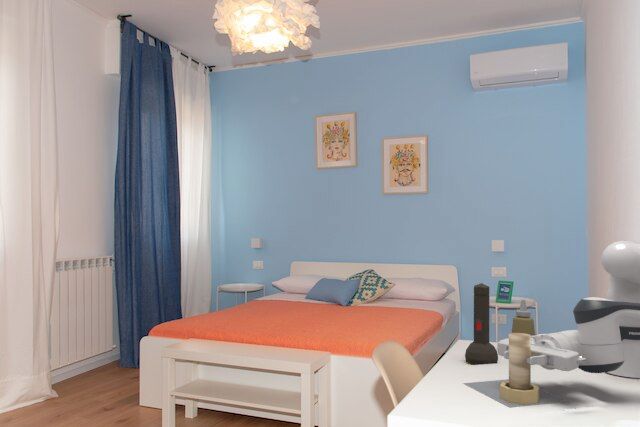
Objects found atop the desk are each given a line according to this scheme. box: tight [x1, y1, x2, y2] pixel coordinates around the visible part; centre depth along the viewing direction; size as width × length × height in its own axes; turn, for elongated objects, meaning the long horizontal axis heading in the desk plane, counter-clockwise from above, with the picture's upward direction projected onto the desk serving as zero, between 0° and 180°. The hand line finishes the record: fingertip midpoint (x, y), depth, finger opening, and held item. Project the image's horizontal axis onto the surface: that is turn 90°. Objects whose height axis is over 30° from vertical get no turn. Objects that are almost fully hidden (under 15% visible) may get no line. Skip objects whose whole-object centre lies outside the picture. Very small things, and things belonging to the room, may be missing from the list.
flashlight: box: [464, 282, 499, 366], centre depth 172 cm, size 10×25×10 cm
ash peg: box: [508, 332, 532, 390], centre depth 133 cm, size 5×5×14 cm
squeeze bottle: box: [511, 299, 536, 334], centre depth 184 cm, size 8×8×18 cm
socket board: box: [462, 378, 569, 408], centre depth 138 cm, size 17×20×4 cm
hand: (517, 358), depth 133 cm, fingers closed on ash peg, 5 cm apart
